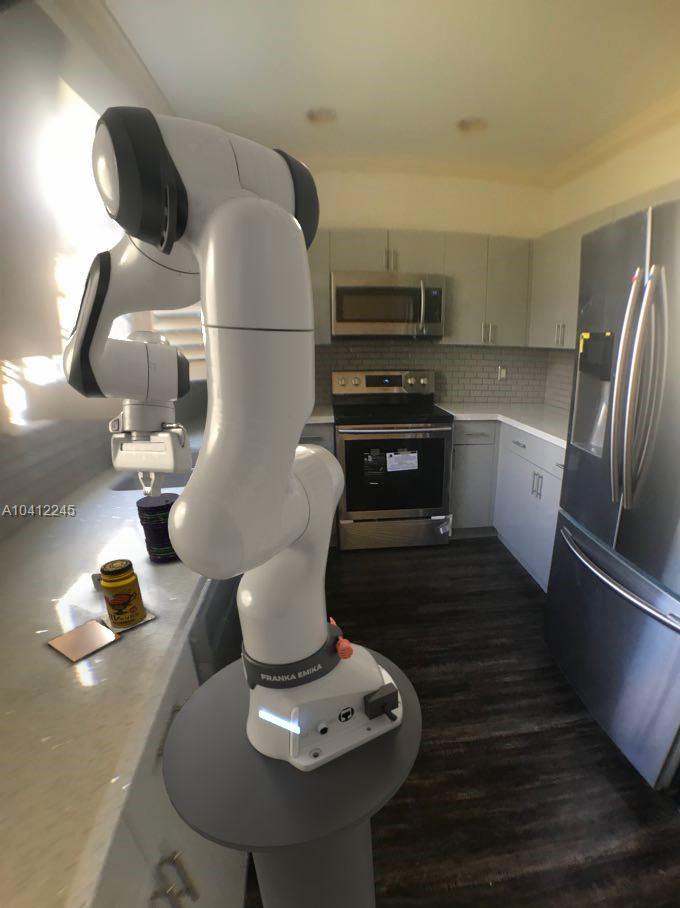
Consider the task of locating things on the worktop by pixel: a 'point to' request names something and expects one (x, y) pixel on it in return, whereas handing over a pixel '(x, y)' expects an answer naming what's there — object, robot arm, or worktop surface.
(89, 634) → the copper flat rectangular plate
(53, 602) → the worktop surface
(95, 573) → the usb wall charger
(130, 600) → the condiment
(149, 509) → the storage jar
